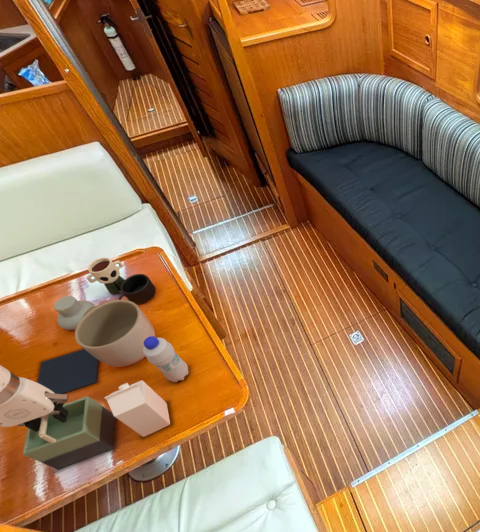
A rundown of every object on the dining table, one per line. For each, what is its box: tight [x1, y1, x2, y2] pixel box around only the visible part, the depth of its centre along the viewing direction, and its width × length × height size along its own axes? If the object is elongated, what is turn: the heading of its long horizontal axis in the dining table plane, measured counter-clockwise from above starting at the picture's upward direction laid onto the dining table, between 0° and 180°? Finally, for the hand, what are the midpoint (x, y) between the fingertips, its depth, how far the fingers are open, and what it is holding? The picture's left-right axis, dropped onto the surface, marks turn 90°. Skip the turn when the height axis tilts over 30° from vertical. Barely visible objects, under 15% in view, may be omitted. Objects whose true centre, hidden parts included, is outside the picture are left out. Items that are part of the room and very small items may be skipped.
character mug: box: [85, 257, 125, 296], centre depth 137 cm, size 11×7×13 cm, turn 137°
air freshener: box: [53, 295, 97, 331], centre depth 129 cm, size 11×8×10 cm
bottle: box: [143, 336, 189, 383], centre depth 113 cm, size 7×7×20 cm
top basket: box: [22, 395, 103, 463], centre depth 98 cm, size 13×10×12 cm
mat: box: [37, 348, 100, 394], centre depth 120 cm, size 16×14×1 cm
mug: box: [118, 273, 157, 305], centre depth 136 cm, size 12×9×7 cm
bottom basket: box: [40, 405, 116, 470], centre depth 105 cm, size 13×10×6 cm
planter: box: [74, 299, 156, 368], centre depth 120 cm, size 17×17×15 cm
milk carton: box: [104, 379, 171, 438], centre depth 104 cm, size 7×7×19 cm
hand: (52, 420), depth 96 cm, fingers open, 4 cm apart
